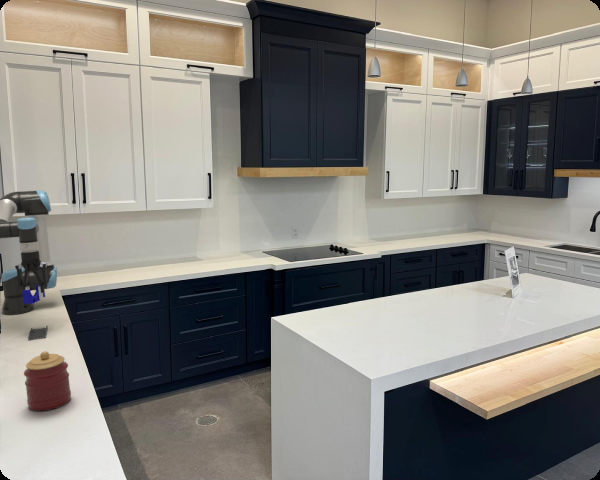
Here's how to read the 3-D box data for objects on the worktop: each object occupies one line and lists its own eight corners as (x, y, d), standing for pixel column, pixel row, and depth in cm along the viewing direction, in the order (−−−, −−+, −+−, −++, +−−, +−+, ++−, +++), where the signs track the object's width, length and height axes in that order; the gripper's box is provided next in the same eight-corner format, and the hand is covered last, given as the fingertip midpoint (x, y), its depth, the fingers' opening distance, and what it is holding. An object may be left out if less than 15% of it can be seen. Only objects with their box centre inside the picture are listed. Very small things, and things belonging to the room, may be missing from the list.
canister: (25, 415, 157) (19, 362, 154) (29, 398, 169) (23, 348, 166) (71, 406, 162) (65, 354, 159) (71, 390, 174) (66, 342, 171)
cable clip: (32, 303, 229) (31, 290, 228) (23, 303, 230) (22, 290, 229) (48, 296, 241) (46, 284, 240) (39, 296, 241) (38, 284, 241)
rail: (31, 330, 239) (31, 327, 239) (47, 328, 242) (47, 325, 242) (28, 340, 225) (28, 337, 225) (45, 338, 228) (45, 335, 228)
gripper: (5, 253, 227) (11, 303, 230) (47, 251, 229) (52, 300, 232) (12, 250, 234) (18, 299, 237) (53, 248, 237) (58, 296, 240)
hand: (35, 299), depth 235 cm, fingers closed on cable clip, 5 cm apart
